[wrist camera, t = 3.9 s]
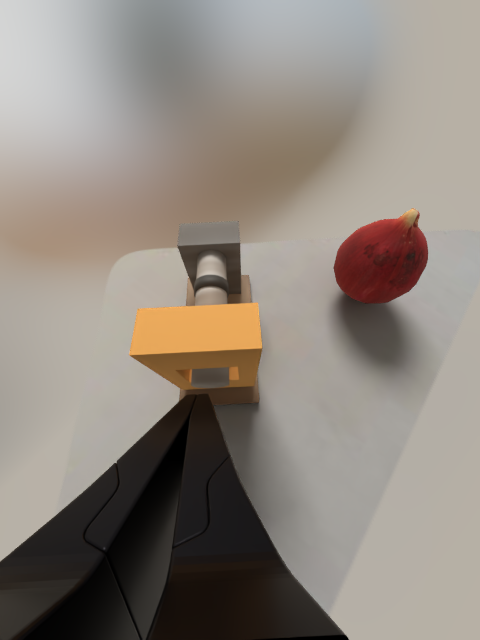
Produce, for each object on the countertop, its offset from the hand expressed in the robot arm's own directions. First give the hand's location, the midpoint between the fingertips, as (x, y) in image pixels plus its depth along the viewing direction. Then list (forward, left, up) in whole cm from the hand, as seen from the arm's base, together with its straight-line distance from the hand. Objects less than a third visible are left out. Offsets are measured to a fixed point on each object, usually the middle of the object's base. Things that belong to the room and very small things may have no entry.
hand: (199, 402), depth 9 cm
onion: (+14, +7, -8) cm, 18 cm away
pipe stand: (+1, +6, -8) cm, 10 cm away
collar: (0, +3, -7) cm, 7 cm away
